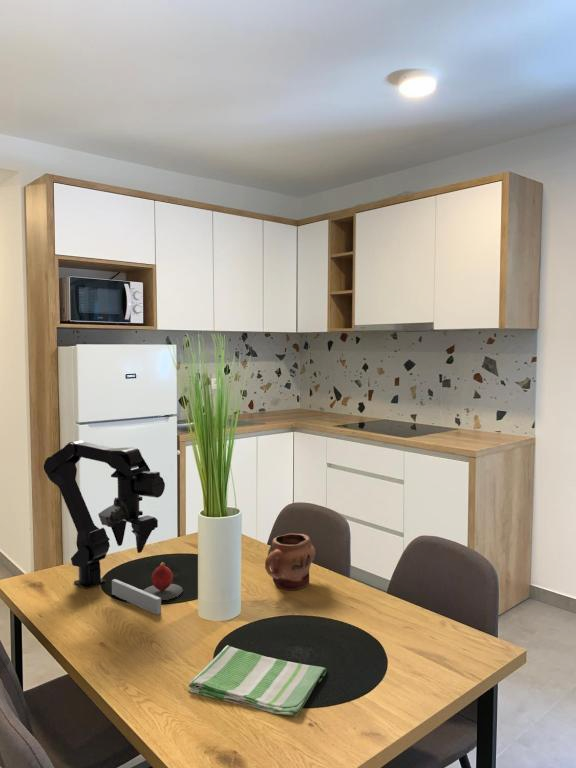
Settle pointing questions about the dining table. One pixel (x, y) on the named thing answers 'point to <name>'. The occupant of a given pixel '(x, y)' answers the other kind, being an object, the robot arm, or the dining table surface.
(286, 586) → the brown clay mug
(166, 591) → the rubber mat
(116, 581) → the low wall
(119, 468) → the robot arm
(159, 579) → the onion
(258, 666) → the dish towel
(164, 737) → the dining table surface
